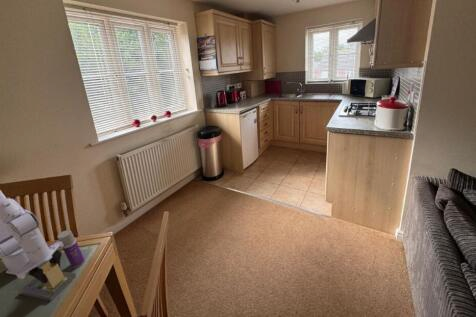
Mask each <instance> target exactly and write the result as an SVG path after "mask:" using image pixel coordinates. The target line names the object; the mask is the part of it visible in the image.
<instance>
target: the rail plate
mask: <svg viewBox="0 0 476 317" xmlns="http://www.w3.org/2000/svg"><path fill="white" fill-rule="evenodd" d="M61 271H62V273H63V275H64V277H65V278H64V279H63V280H62V281H61V282H60V283H59V284H58V285H57V286H56V287H55V288H54V289H53V288H48V287H44V286H43V285H42V287H41V288H36V287H35V286H36V285H37V284H38V283H39V282H40V281H39V280H38V279H36V278H35V277H33V279H32V280H30V281H29V282H28V283H27V284H25V285H24V286H23V287H22V288H21V289H19V290H18V292H19V293H20V295H23V296H28V297H32V298H37V299H40V300H45V301H50V302H52V301H53V300H54V299H55V298H56V297H57V296H58V295H60V293H61V292H62V291H64V289H66V287H67V286H68V285H69V284H70V283H71V282H72V281H73V280H74V279H75V278H76V277H77V275H76V273H74V272H70V271H68V272H67V271H64V270H61Z"/></svg>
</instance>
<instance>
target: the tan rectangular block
mask: <svg viewBox="0 0 476 317" xmlns="http://www.w3.org/2000/svg"><path fill="white" fill-rule="evenodd" d="M60 268H61V266H60V267H59V265H58V264H57V263H52V262H49V261H47V262H46V263H45V264H44V265H42V266H41V267H40V269H43V273H44V276H45V278H46V279H47V283H41V284H42V287H43V286H44V287H48V288H53V289H54V288H55V287H56V286H57V285H58V284H59V283H60V282H61V281H62V280H63V279H64V278H65V277H64V275H63V273H62V271H63V270H62V269H60Z"/></svg>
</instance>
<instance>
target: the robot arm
mask: <svg viewBox="0 0 476 317" xmlns="http://www.w3.org/2000/svg"><path fill="white" fill-rule="evenodd" d="M39 226H40V222H39V219H38V218H37V217H36V215H35V214H34V213H33V212H32V211H29V210H28V209H24V208H23V207H22V206H21V205H20V204H19V203H18V202H17V201H16V200H15V199H14V198H7V197H6V196H5V194H4V193H3V191H2V190H1V189H0V259H1V261H2V263H3V264H4V266H5V267H6V269H7V270H6V271H5V273H6V274H10V275H15V276H16V277H17V279H20V280H23V279H25V278H26V276H27V275H29V276H32V277H33V278H36V279H38V280H39V282H40V283H41V284H42V283H47V279H46V278H45V276H44V273H43V269H40V268H41V267H40V268H39V266H40V265H42V264H43V263H45V262H46V263H47V262H52V263H57V264H58V265H59V267H60V269H61V268H62V267H61V258H62V256H63V255H62V251H60V248H61V249H63V248H62V247H63V246H64V245H63V243H62V242H60V241H59V240H57V241H56V242H55V243H53V244H51V245H50V246H49V245H48V244H47V242H46V240H45V239H44V236H43V235H42V233H41V231H40V228H39ZM61 270H62V269H61Z"/></svg>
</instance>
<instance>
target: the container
mask: <svg viewBox="0 0 476 317" xmlns="http://www.w3.org/2000/svg"><path fill="white" fill-rule="evenodd" d="M56 238H57V239H58V241H60V242H62V243H63V245H64V246H63V247H62V248H61V249H62V250H63V252H64V254H65V256H66V258H67V260H68V263H69V264H70V266H71V268H72V269H77V268H78V267H81V266H82V265H84V263H85V261H86V260H85V257H84V255H83V253H82V251H81V248H80V246H79V244H78V242H77V239H76V238H75V236H74V234H73V232H72V231H71V230H70V229H68V230H67V229H66V230H63V231H62V232H60V233H59V234H57V237H56Z"/></svg>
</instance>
